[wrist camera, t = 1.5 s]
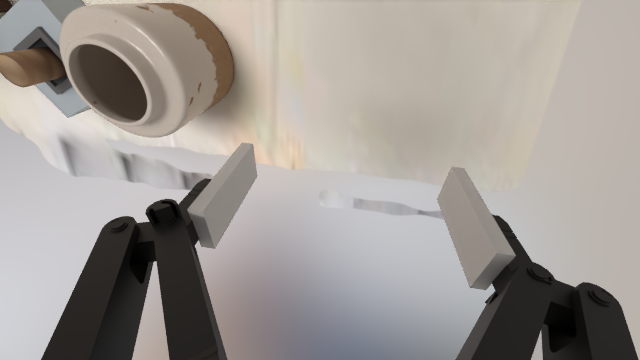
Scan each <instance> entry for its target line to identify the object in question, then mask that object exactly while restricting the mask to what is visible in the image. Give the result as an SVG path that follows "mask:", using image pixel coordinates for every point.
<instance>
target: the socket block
mask: <svg viewBox="0 0 640 360" xmlns="http://www.w3.org/2000/svg"><path fill="white" fill-rule="evenodd" d="M82 6H85V4H84V3H83V2H82V0H19V1H18V2H17V3H16V4H15V5H14V6H13V7H12V8H11V9H10V10H9V11H8V12H7V13H6V14H5V15H4V16H3V17H2V18H1V19H0V52H1V53H4V52H11V51H18V50H25V49H32V48H39V47H46V46H49V47H50V48H51V49H52V51H53V52H54V53H55V54H56V55H57V56H58V57H59V58H60V59H61V60H62V58H61V53H60V48H59V34H60V29H61V25H62V23H63V21H64V19H65V18H66V16H67V15H68V14H69V13H71V12H72V11H74V10H75V9H77V8H79V7H82ZM62 62H63V61H62ZM35 86H36V87H37V88H38V89H39V90H40V91H41V92H42V93H43V94H44V95H45V96H46V97H47V98H48V99H49V100H50V101H51V102H52V103H53V104H54V105H55V106H56V107H57V108H58V109H59V110H60V111H61V112H62V113H63V114H64V115H65V116H66V117H67V118H69V117H71V116H74V115H76V114H79V113H81V112H84V111H86V110H89V109H91V108H90V107H89V106H88V105H87V104H86V103H85V102H84V101H83V100H82V98H81V97H80V96H79V95H78V93H77V92H76V91H75V89H74V88H73V86H72V84H71V82H70V80H69V78H68V76H66V77H62V78H59V79H55V80H51V81H47V82H43V83H39V84H35Z"/></svg>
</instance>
